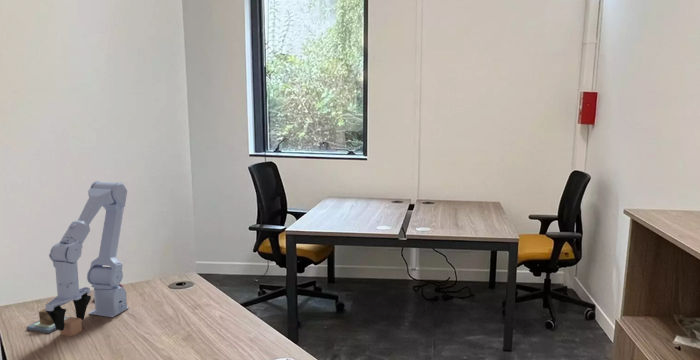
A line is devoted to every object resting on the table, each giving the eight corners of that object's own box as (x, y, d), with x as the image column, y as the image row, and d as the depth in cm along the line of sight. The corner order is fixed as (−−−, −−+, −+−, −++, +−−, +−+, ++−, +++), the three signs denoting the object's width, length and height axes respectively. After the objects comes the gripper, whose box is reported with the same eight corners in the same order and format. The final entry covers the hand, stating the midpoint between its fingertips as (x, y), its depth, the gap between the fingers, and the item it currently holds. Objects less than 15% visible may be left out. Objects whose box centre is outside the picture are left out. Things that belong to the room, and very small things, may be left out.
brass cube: (60, 319, 154) (59, 308, 153) (50, 325, 150) (49, 313, 149) (50, 318, 155) (49, 306, 154) (39, 323, 151) (38, 311, 150)
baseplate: (74, 321, 156) (73, 317, 155) (50, 333, 147) (49, 329, 147) (51, 317, 158) (51, 314, 158) (26, 329, 149) (26, 325, 149)
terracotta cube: (82, 330, 149) (81, 318, 149) (71, 336, 146) (70, 323, 145) (71, 328, 150) (70, 316, 150) (60, 334, 147) (59, 322, 146)
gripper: (58, 291, 138) (61, 336, 140) (96, 275, 151) (99, 316, 153) (38, 288, 139) (41, 333, 141) (78, 273, 153) (81, 313, 155)
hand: (70, 324), depth 147 cm, fingers open, 7 cm apart
